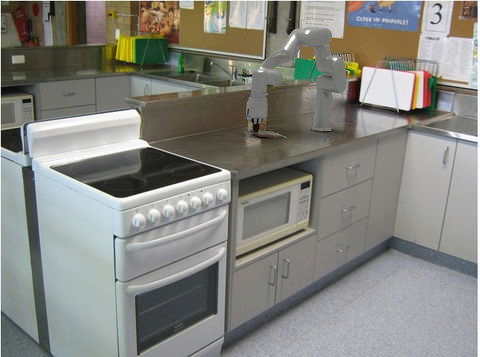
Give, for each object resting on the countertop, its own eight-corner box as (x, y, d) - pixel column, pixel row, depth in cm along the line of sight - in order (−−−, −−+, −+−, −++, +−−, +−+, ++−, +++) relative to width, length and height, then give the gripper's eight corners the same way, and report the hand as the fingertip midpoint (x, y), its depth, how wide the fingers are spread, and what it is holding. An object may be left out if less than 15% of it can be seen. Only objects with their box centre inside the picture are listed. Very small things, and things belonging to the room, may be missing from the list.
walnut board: (273, 131, 274) (250, 129, 267) (283, 135, 265) (259, 133, 259) (273, 134, 274) (249, 132, 268) (282, 138, 266) (258, 136, 259)
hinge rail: (276, 135, 276) (276, 132, 276) (287, 139, 266) (287, 137, 266) (274, 135, 275) (274, 132, 275) (285, 139, 266) (285, 137, 266)
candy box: (251, 133, 275) (253, 104, 270) (247, 132, 278) (249, 103, 274) (265, 133, 279) (267, 104, 275) (261, 131, 283) (263, 103, 278)
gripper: (268, 93, 264) (265, 129, 270) (241, 93, 258) (239, 130, 263) (275, 96, 258) (272, 132, 263) (248, 96, 251) (245, 133, 257)
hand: (255, 131), depth 263 cm, fingers closed
